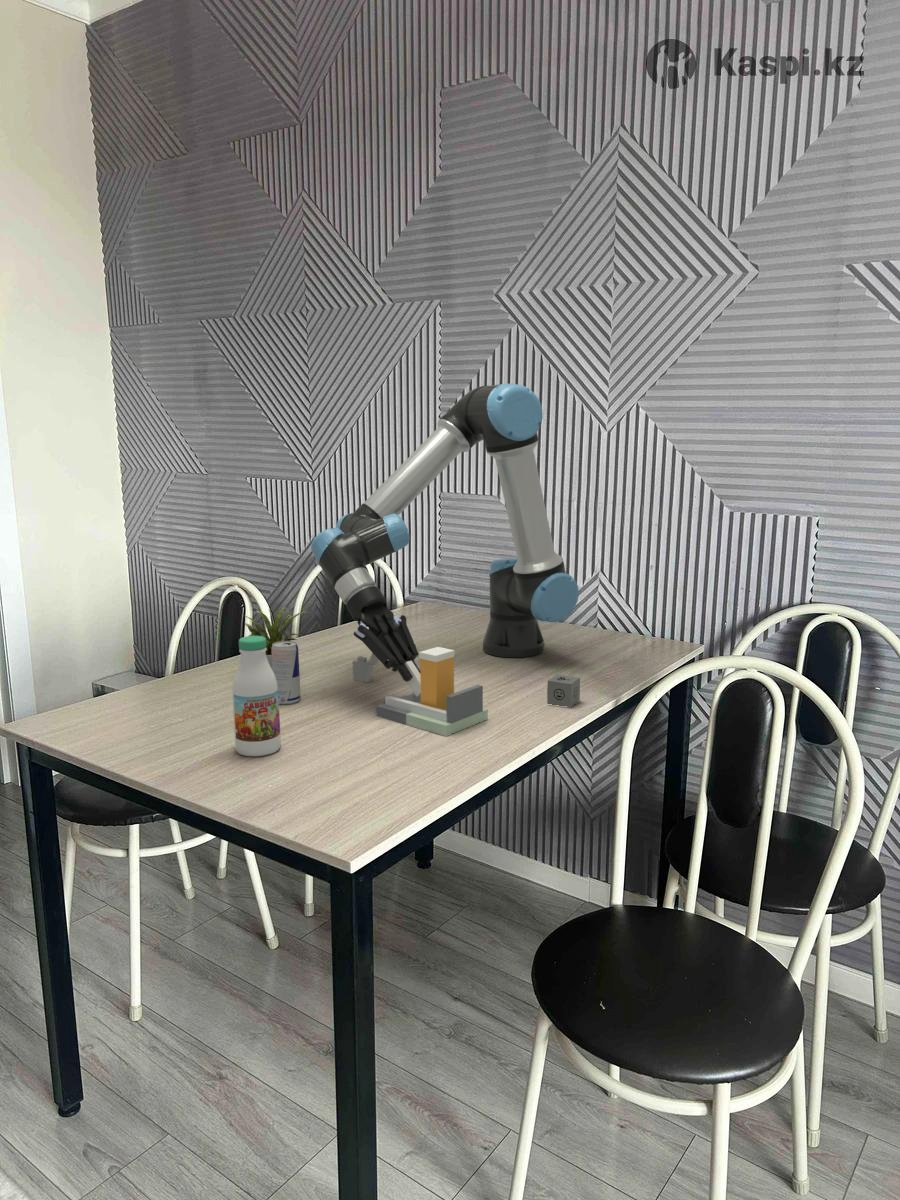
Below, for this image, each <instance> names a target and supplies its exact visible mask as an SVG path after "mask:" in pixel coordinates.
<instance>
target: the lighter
mask: <svg viewBox="0 0 900 1200" xmlns="http://www.w3.org/2000/svg"><path fill="white" fill-rule="evenodd" d="M379 662H380V660H379V659H378V658H377V657H376V656H375V655H374V654H373V653H372V652H371V655H370V657H369V659H368V657H367V656H362V655H359V656H357V657H356V659H353V660H352V680H353V681H357V680H358V682H363V681H366V682H365V683H370V682H373V667H376V666H377V665H378V664H379Z"/></svg>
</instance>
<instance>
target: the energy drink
mask: <svg viewBox="0 0 900 1200" xmlns="http://www.w3.org/2000/svg"><path fill="white" fill-rule="evenodd" d="M271 650H272V670H273V673H274V675H275V677H276V681H277V687H278V700H279V705H292V704H296V703H299V702H300V701H301V681H300V679H301V677H300V675H301V674H300V659H299V658H300V657H299V655H300V654H299V646H298V643H297V642H296V641H295V640H291V641H282V640H281V641H280V642H275V643H273V644H272V648H271Z"/></svg>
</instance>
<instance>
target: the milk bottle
mask: <svg viewBox="0 0 900 1200" xmlns="http://www.w3.org/2000/svg"><path fill="white" fill-rule="evenodd" d="M266 646H267V642H266V638H265V637H263V636H249V635H248V636H244V637H241V638H239V639H238V649H239V653H240V659H239V660H240V661H239V664H238V666H237V669H236V672H235V674H234V678H233V682H232V709H233V710H232V712H233V727H234V741H235V742H234V744H235V750H236V752H237V753H238V754H239V755H242V756H246V757H264V756H268V755H272V754H274V753H276V752H277V751H279V750H280V747H281V745H282V743H281V742H282V741H281V721H280V719H281V718H280V704H279V700H278V687H277V681H276V677H275V675H274V673H273V671H272V669H271V667H270V665H269V663H268V660H267V657H266V650H267V648H266Z"/></svg>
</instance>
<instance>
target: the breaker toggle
mask: <svg viewBox="0 0 900 1200" xmlns="http://www.w3.org/2000/svg"><path fill="white" fill-rule="evenodd" d="M418 653H419V654H418V656H419V657H418V658H419V663H420V664H419V665H420V668H419V670H420V674H421V704H423V705H426V706H430V707H434V708H437V709H441V710H446V696H447V695H450V694H453V693H455V660H454V659H455V657H456V656H455V649H450V648H444V647H441V646H436V647H432V648H429V649H425V650H423V651H422V650H421V651H418Z"/></svg>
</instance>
